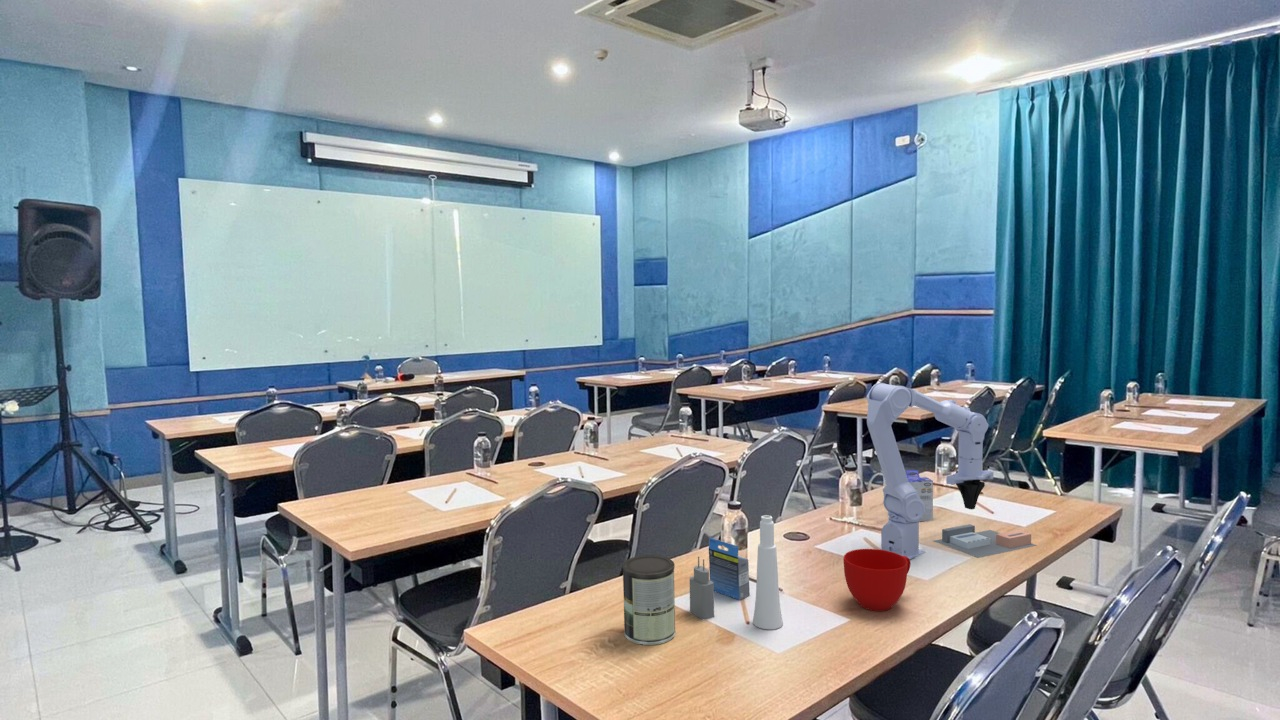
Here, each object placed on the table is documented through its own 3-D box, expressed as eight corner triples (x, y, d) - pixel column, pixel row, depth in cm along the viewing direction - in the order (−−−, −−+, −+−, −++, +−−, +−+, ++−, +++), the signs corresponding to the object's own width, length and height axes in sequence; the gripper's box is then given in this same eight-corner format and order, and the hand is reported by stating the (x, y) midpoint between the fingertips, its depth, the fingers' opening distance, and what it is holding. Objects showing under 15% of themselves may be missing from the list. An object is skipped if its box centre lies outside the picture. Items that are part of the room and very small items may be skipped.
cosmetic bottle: (775, 632, 138) (774, 522, 136) (747, 625, 141) (746, 518, 140) (787, 621, 143) (787, 515, 141) (760, 614, 146) (759, 510, 145)
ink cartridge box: (927, 516, 212) (927, 469, 211) (934, 521, 206) (934, 473, 205) (893, 516, 212) (894, 469, 211) (900, 522, 206) (900, 473, 205)
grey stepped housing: (964, 549, 181) (965, 537, 181) (942, 541, 188) (942, 529, 188) (993, 543, 185) (993, 531, 185) (969, 535, 192) (969, 524, 192)
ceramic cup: (933, 604, 149) (934, 558, 149) (877, 623, 141) (877, 574, 140) (885, 584, 161) (885, 541, 160) (830, 600, 152) (830, 555, 152)
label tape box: (750, 595, 156) (749, 541, 155) (738, 601, 153) (738, 546, 152) (720, 585, 162) (719, 533, 162) (708, 590, 160) (707, 537, 159)
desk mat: (977, 559, 175) (977, 557, 175) (933, 542, 188) (933, 540, 188) (1037, 546, 183) (1037, 545, 183) (990, 531, 196) (990, 529, 196)
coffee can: (613, 636, 138) (611, 566, 137) (645, 617, 146) (644, 551, 145) (654, 651, 132) (652, 577, 131) (686, 631, 140) (684, 561, 139)
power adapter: (700, 607, 151) (699, 552, 150) (715, 616, 146) (714, 560, 145) (688, 610, 149) (687, 555, 148) (703, 620, 144) (702, 563, 143)
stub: (1009, 548, 181) (1009, 538, 181) (995, 543, 185) (996, 533, 185) (1031, 543, 184) (1031, 533, 184) (1017, 539, 188) (1017, 529, 188)
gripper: (962, 463, 177) (961, 515, 178) (1003, 457, 183) (1002, 508, 184) (940, 457, 184) (939, 508, 185) (981, 452, 189) (980, 502, 190)
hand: (969, 508), depth 185 cm, fingers closed
